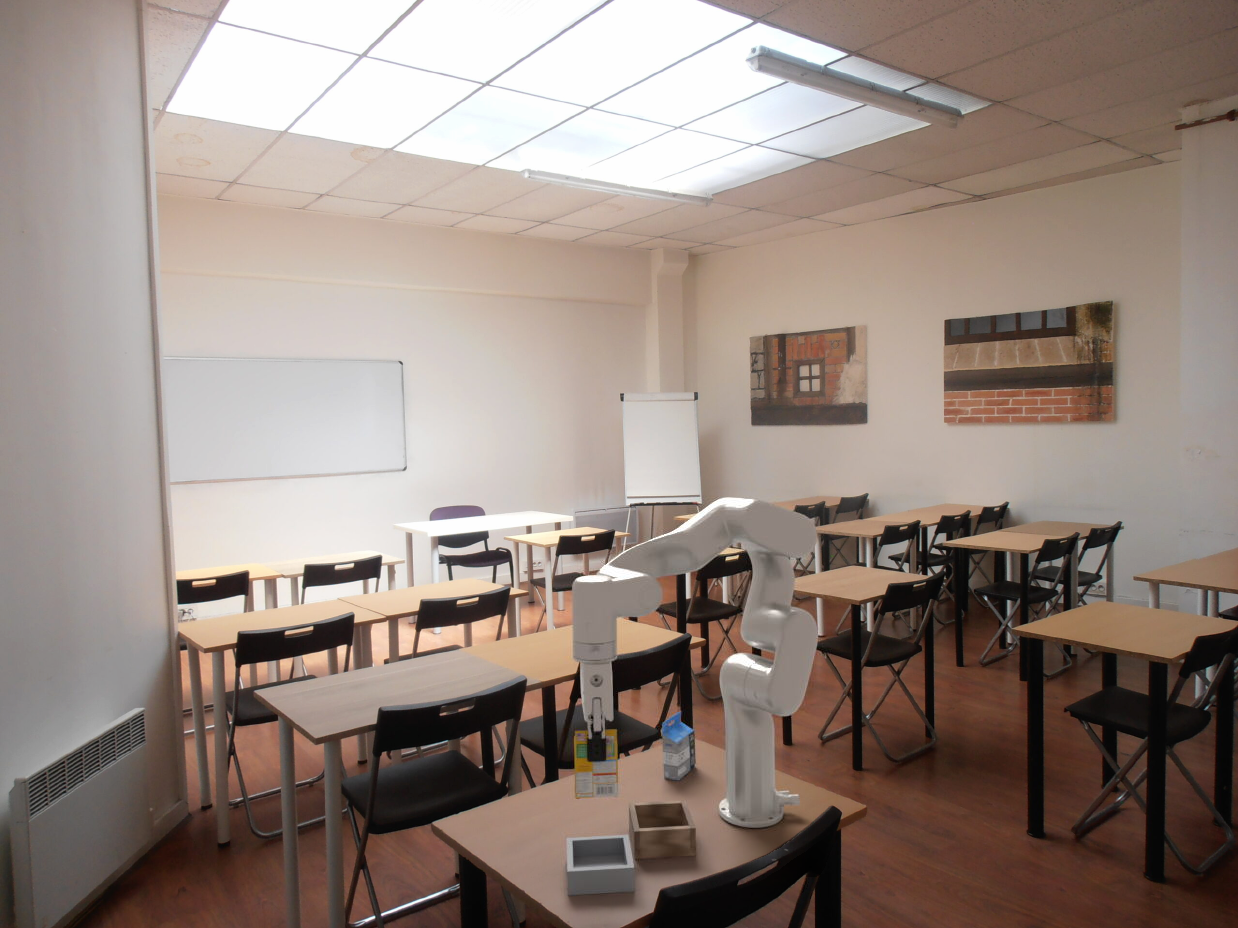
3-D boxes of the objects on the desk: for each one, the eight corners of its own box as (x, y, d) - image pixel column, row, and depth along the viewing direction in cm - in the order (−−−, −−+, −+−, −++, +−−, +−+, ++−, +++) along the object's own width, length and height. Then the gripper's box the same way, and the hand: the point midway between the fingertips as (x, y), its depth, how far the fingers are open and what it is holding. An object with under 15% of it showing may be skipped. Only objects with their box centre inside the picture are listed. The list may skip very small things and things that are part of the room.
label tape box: (678, 781, 174) (677, 725, 173) (662, 777, 176) (661, 722, 175) (696, 766, 181) (695, 713, 181) (680, 763, 183) (679, 710, 183)
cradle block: (628, 856, 143) (628, 834, 143) (634, 891, 132) (634, 867, 132) (567, 859, 142) (566, 837, 142) (567, 895, 131) (567, 871, 131)
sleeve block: (686, 825, 154) (685, 799, 154) (696, 855, 143) (695, 827, 143) (629, 828, 153) (628, 803, 153) (634, 858, 142) (634, 831, 142)
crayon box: (616, 789, 138) (616, 722, 138) (618, 796, 135) (617, 729, 135) (574, 791, 138) (573, 724, 137) (575, 799, 135) (574, 731, 134)
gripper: (620, 661, 128) (622, 775, 128) (613, 636, 144) (614, 737, 145) (573, 663, 127) (575, 777, 128) (571, 638, 144) (573, 739, 144)
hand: (596, 755), depth 136 cm, fingers closed on crayon box, 3 cm apart
